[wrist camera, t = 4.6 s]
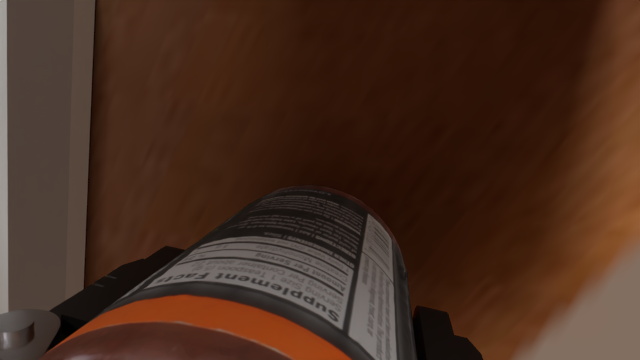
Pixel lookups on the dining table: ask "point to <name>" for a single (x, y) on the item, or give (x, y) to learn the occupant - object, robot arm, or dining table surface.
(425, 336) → the robot arm
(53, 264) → the lane
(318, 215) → the supplement bottle
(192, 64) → the dining table surface
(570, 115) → the dining table surface
